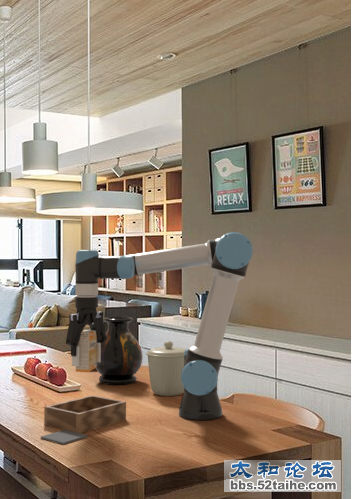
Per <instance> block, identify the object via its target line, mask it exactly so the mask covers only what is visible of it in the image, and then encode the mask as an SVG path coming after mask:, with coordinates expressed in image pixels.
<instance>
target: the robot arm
mask: <svg viewBox="0 0 352 499" xmlns="http://www.w3.org/2000/svg"><path fill="white" fill-rule="evenodd" d="M253 254H254V248H253V244H252V242H251V240H250V238H249V237H248V236H247V235H245V234H244V233H241V232H236V231H230V232H227V233H224V234H223V235H222V236H220V237H218V238H212V239H208V240H207V241H206V242H205V243H200V244H194V245H185V246H181V247H179V246H178V247H174V248H173V247H172V248H166V249H165V248H164V249H160V250H159V249H158V250H153V251H147V252H139V253H133V254H125V255H108V256H107V255H100V254H99V251H98V250H95V249H86V250H85V249H80V250H77V251H76V253H75V263H74V265H75V266H74V269H75V287H74V288H75V290H74V291H75V292H74V294H75V296H76V297H75V300H74V301H75V302H74V303H75V304H74V307H75V308H76V313H71V314H69V315H68V318H69V319H68V320H69V322H68V329H67V334H66V339H65V344H66V345H68V346H70V356H71V367H72V366H73V367H76V366H77V367H78V366H79V346H77V345H78V342H79V340H80V337H81V332H82V331H83V330H84V328H86V326H87V325H88V326H89V330H95V331H96V335H97V362H98V363H99V362H101V350H102V349H101V348H102V343H104V340H106V328H105V321H104V320H103V319H104V311H99V310H98V311H97V308H99V298H98V295H99V279H101V280H102V279H111V280H112V279H114V280H117V279H119V280H128V279H133V278H134V276H140V275H146V274H147V275H148V274H154V273H161V272H168V271H175V270H182V269H190V268H196V267H204V266H210V269H211V272H212V273H213V274H212V276H213V277H212V279H211V283H210V287H209V290H208V294H207V298H206V301H205V305H204V309H203V312H202V316H201V319H200V324H199V327H198V330H197V334H196V338H195V341H194V344H193V345H191V346H190V347H188V348H185V349H186V350H185V352H184V367H183V369H182V372H181V381H182V384H183V386H184V392H183V393H182V395H183V396H182V398H181V400H180V404H179V407H178V415H179V417H181V418H184V419H189V420H196V421H207V420H209V421H210V420H214V419H219V418H221V417H222V416H223V407H222V404H221V401H220V398H219V394H218V382H219V379H218V376H219V373H220V369H221V365H222V361H223V360H224V358H223V355H222V354H221V348H222V344H223V341H224V338H225V337H224V336H225V334H226V330H227V328H228V327H227V326H228V323H229V319H230V315H231V311H232V308H233V305H234V300H235V298H236V294H237V289H238V286H239V282H240V281H241V280H243V279H245V277H246V274H247V270H248V267H249V263H250V260H251V259H252V257H253Z"/></svg>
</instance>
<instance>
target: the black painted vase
mask: <svg viewBox="0 0 352 499" xmlns="http://www.w3.org/2000/svg"><path fill="white" fill-rule="evenodd" d="M133 320H134V319H133V317H130V316H106V317H103V321H104V323H107V326H108V327H107V331H105V333H106V340H104V343H102V348H101V349H102V350H101V362H99V363H98V362H97V367H96V368H95V369H96V371H97V373H99V375H100V376H99V378H98V380H99V383H102V384H105V385H113V386H120V385H130V384H133V383H135V382H136V381H137V379H138V378H137V376H136V374H137V373H138V372H139V369H141V367H142V365H143V351H142V347H141V345H140V343H139V340H137V339H136V337H135V336H134V335H133V334H132V332H131V331H130V330H129V324H130V323H131V322H133Z"/></svg>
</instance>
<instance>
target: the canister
mask: <svg viewBox="0 0 352 499" xmlns="http://www.w3.org/2000/svg"><path fill="white" fill-rule="evenodd" d="M186 349H187V348H184V347H177V346H176V347H175V346H174V344H173V342H172V341H170V340H166V341H165V342H164V343H163V346H159V347H154V348H151V349H149V350H148V351H146V352H145V355H146V356H147V362H148V363H147V364H148V373H149V375H148V376H149V381H150V382H149V383H150V388H151V391H152V392H153V394H155V395H157V396H161V397H162V396H163V397H173V396H174V397H175V396H179V395H183V394H184V386H183V384H182V381H181V372H182V369H183V367H184V352H185V350H186Z"/></svg>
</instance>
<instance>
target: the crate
mask: <svg viewBox="0 0 352 499" xmlns="http://www.w3.org/2000/svg"><path fill="white" fill-rule="evenodd" d="M43 409H44V412H43V414H44V415H43V417H44V418H43V419H44V420H43V421H44V422H43V423H44V424H43V425H44V426H46V427H47V426H48V427H49V428H54V429H59V430H61V431H62V430H69V431H73V432H77V433H81V434H83V433H85V431H86V432H88V431H92V430H96V429H99V428H103V427H106V426H109V425H112V424H115V423H119V422H122V421H126V420H127V401H125V400H119V399H113V398H108V397H102V396H99V395H98V396H97V395H94V394H91V395H88V396H84V397H80V398H75V399H72V400H66V401H62V402H58V403H55V404H50V405H45V406H44V408H43Z"/></svg>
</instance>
